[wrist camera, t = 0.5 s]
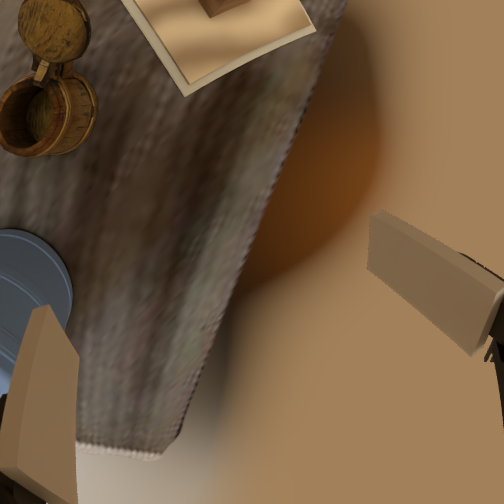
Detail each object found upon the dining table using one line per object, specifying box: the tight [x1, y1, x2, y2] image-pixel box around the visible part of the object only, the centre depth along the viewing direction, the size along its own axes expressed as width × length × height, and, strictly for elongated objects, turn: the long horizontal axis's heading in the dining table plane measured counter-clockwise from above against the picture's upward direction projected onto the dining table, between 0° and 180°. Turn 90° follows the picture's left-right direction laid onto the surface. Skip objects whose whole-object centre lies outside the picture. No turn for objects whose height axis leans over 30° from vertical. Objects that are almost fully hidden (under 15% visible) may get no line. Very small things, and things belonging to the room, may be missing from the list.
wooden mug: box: [0, 0, 98, 158], centre depth 19 cm, size 9×14×18 cm, turn 148°
